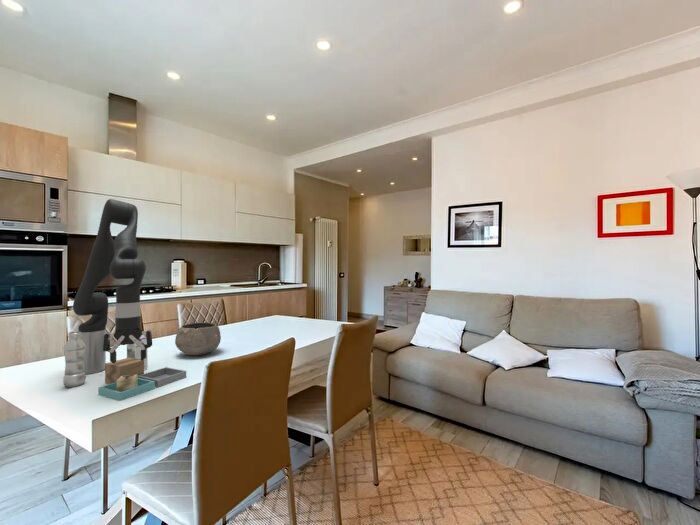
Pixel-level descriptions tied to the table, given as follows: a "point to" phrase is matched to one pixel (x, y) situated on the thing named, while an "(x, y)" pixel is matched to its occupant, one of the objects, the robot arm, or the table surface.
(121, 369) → the walnut stand
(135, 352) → the syrup box
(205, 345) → the clay pot
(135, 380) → the letter cube
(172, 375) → the gray bin
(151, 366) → the table surface
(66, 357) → the plastic bottle
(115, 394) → the teal bin
